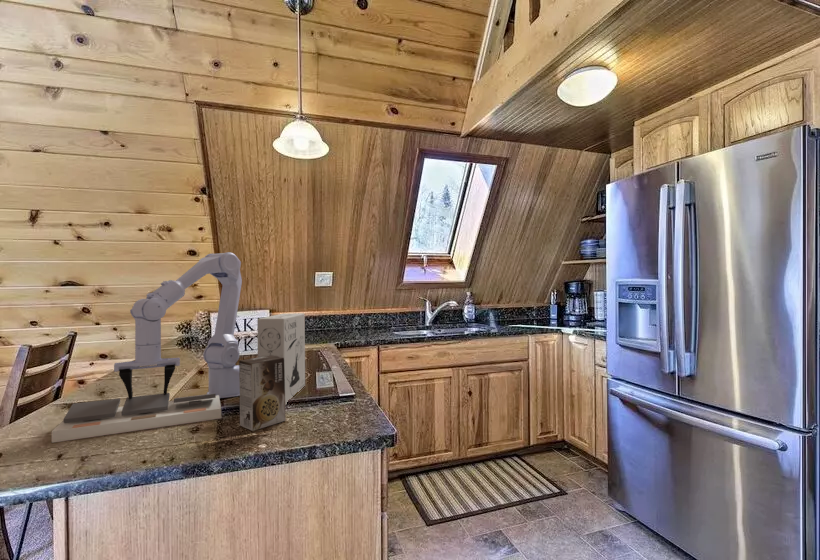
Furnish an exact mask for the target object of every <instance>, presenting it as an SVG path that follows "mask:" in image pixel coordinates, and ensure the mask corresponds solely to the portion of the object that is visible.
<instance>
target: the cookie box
mask: <svg viewBox="0 0 820 560" xmlns="http://www.w3.org/2000/svg"><path fill="white" fill-rule="evenodd" d="M238 361H239V362H238V363H239V364H238V365H239V378H240V396H239V426H240V427H243V428H245V429H247V430H250V431H252V432H254V431H257V430H260V429H264V428H266V427H270V426H273V425H277V424H279V423H283V422H285V421H286V418H287V417H286V405H285V369H284V358H282V357H278V356H274V355H269V356H263V357H258V356H257V357H252V358H247V359H240V360H238Z"/></svg>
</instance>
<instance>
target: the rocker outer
mask: <svg viewBox="0 0 820 560" xmlns="http://www.w3.org/2000/svg"><path fill="white" fill-rule="evenodd" d="M120 404H121V398H111V399H110V398H109V399H103V400H93V401H84V402H75V403H72V404H71V406H70V408H69V409H68V410H67V412H66V414H65V416H64V417H63V419H62V421H63V422H64V423H70V422H78V421H86V420H94V419H102V418H109V417H115V414H116V412H117V409H118V407H120Z"/></svg>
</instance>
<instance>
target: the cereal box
mask: <svg viewBox="0 0 820 560" xmlns="http://www.w3.org/2000/svg"><path fill="white" fill-rule="evenodd" d="M305 314H306V313H304V312H303V313H296V312H295V313H279V314H274V315H270V316H267V317H266V316H265V317H260V318H258V319H257V357H263V356H269V355H274V356H278V357H282V358H284V369H285V406H286V405H288V404H287V402H288V400H289V399H291V398H292V397H293V396H294V395H295V394H296V393H297V392H299V391H300V390H301V389H302V388H303V387H304V386H305V387H306V347H305V346H306V334H305V333H306V331H305V330H306V329H305V327H306V326H305V325H306V324H305V323H306V322H305V320H306V319H305V318H306V317H305ZM305 387H304V388H305ZM304 388H303V389H304ZM303 389H302V390H303ZM302 390H301V391H302ZM301 391H300V392H301ZM300 392H299V393H300Z"/></svg>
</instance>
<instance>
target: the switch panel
mask: <svg viewBox="0 0 820 560" xmlns="http://www.w3.org/2000/svg"><path fill="white" fill-rule="evenodd" d="M220 399H221V398H219V395H216V398H209V399H201V400H193V401H185V402H177V403H174V400H169V404H168V410H164V411H156V412H148V413H140V414H133V415H125V416H122V414H121V412H122V409H123V406H119V407H118V409H117V412H116V414H115V417H109V418H102V419H94V420H86V421H78V422H70V423H64V422H63V420H62V421H61V422H60V423H59V424H58V425H56V427H54V428H53V429H52V431H51V443H59V442H67V441H72V440H79V439H80V440H81V439H87V438H93V437H94V438H95V437H101V436H108V435H115V434H121V433H127V432H128V433H130V432H136V431H144V430H149V429H156V428H163V427H171V426H177V425H184V424H190V423H198V422H205V421H206V422H207V421H212V420H218V419H222V406H221V405H222V403H221V400H220Z"/></svg>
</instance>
